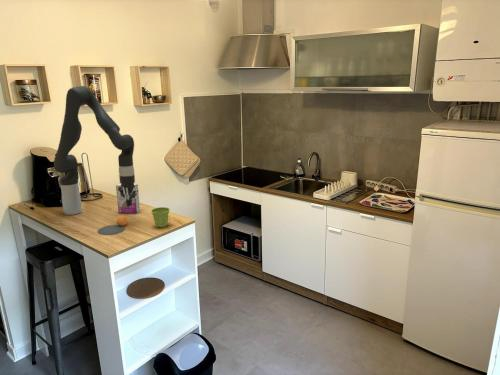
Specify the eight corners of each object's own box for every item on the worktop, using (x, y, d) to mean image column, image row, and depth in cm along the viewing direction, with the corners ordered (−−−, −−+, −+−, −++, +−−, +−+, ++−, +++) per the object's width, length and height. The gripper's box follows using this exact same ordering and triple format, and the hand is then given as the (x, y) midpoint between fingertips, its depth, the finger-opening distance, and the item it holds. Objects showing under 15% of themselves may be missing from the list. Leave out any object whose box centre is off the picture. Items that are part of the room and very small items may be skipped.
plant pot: (151, 223, 199) (150, 208, 197) (169, 221, 202) (168, 206, 200) (153, 230, 191) (152, 213, 188) (172, 227, 194) (171, 211, 192)
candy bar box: (118, 213, 215) (115, 185, 211) (121, 210, 220) (119, 183, 216) (137, 213, 214) (134, 186, 210) (140, 211, 219) (138, 183, 215)
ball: (123, 217, 201) (120, 227, 199) (115, 213, 196) (112, 223, 194) (131, 217, 198) (128, 227, 196) (123, 213, 194) (120, 223, 192)
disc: (92, 231, 189) (91, 231, 189) (112, 223, 200) (112, 223, 199) (109, 236, 182) (109, 236, 182) (130, 228, 193) (130, 227, 193)
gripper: (112, 173, 195) (115, 205, 200) (130, 177, 189) (133, 209, 194) (123, 170, 201) (125, 201, 206) (141, 174, 195) (143, 205, 200)
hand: (129, 205), depth 200 cm, fingers closed
